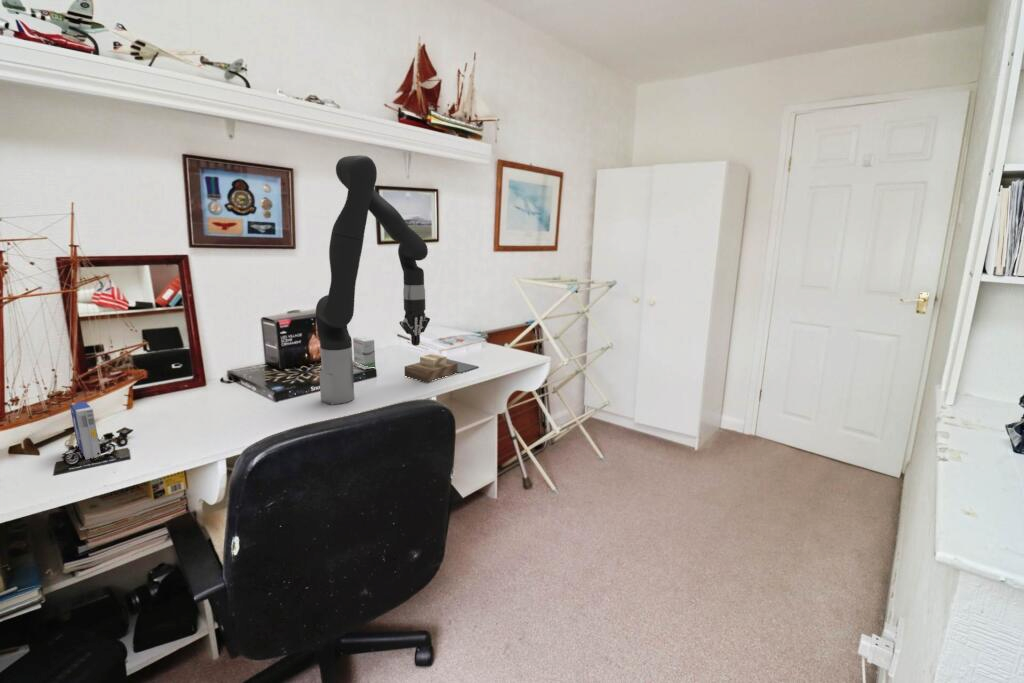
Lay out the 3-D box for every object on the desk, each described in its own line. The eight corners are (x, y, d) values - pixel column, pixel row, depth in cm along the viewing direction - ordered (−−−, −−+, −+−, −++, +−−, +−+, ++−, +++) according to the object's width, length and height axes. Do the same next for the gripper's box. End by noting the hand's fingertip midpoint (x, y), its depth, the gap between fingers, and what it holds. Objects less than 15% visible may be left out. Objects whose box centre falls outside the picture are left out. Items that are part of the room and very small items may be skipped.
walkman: (77, 450, 113) (68, 402, 111) (93, 446, 115) (84, 399, 113) (85, 460, 109) (76, 410, 106) (101, 456, 111) (92, 407, 108)
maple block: (433, 368, 176) (433, 360, 175) (420, 364, 179) (420, 356, 179) (446, 364, 181) (446, 356, 180) (433, 361, 185) (433, 353, 184)
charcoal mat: (460, 373, 183) (460, 372, 183) (427, 365, 193) (427, 363, 193) (478, 367, 192) (478, 366, 192) (446, 360, 202) (446, 358, 202)
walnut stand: (427, 383, 171) (427, 372, 170) (404, 376, 177) (404, 366, 177) (457, 373, 183) (457, 363, 182) (435, 367, 190) (435, 358, 189)
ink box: (376, 368, 187) (375, 339, 184) (364, 371, 183) (363, 341, 181) (365, 364, 192) (363, 335, 190) (353, 366, 189) (352, 337, 186)
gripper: (407, 300, 160) (408, 350, 164) (435, 296, 170) (436, 343, 174) (392, 298, 164) (394, 346, 168) (420, 294, 175) (422, 340, 178)
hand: (415, 345), depth 171 cm, fingers closed
